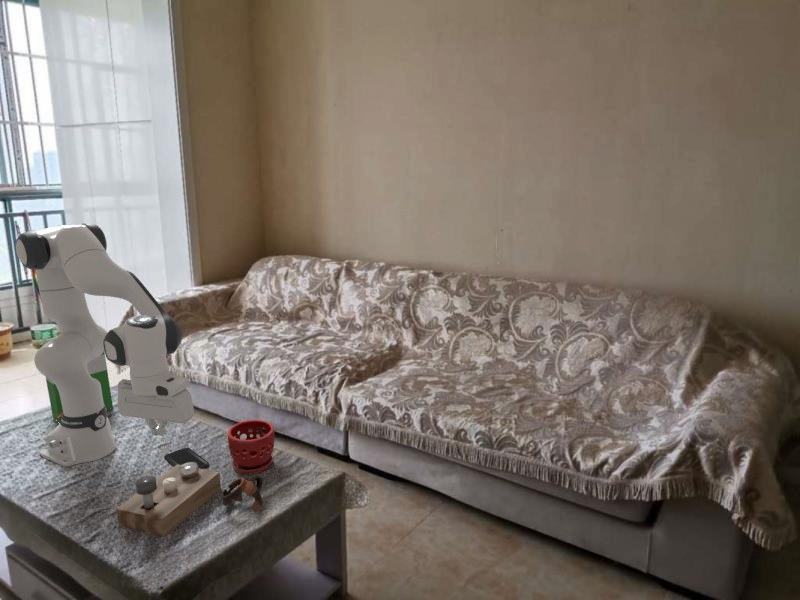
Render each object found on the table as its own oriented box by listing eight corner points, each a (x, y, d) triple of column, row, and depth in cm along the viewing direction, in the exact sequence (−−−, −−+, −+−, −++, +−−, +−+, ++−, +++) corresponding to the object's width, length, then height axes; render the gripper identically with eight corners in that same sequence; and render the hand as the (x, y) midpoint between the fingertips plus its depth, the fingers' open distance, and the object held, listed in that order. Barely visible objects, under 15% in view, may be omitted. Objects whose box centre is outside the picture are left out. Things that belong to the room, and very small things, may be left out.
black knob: (134, 509, 141) (131, 484, 139) (148, 498, 145) (145, 474, 144) (149, 512, 140) (146, 487, 138) (163, 502, 144) (159, 477, 142)
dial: (160, 491, 148) (159, 482, 148) (169, 485, 151) (168, 475, 151) (171, 493, 147) (169, 484, 147) (179, 487, 150) (178, 477, 150)
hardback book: (105, 402, 216) (95, 341, 211) (113, 408, 211) (103, 346, 206) (53, 418, 204) (41, 354, 198) (60, 424, 199) (48, 359, 193)
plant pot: (224, 478, 163) (220, 439, 161) (239, 454, 176) (235, 418, 173) (270, 478, 163) (266, 439, 160) (281, 455, 176) (278, 419, 173)
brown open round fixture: (252, 521, 145) (232, 497, 143) (229, 525, 150) (210, 502, 148) (278, 486, 154) (260, 463, 152) (256, 492, 159) (238, 469, 157)
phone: (187, 446, 180) (210, 463, 170) (187, 449, 181) (210, 466, 170) (162, 455, 175) (184, 473, 165) (162, 459, 175) (184, 477, 165)
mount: (118, 526, 143) (115, 508, 142) (179, 480, 163) (177, 464, 162) (164, 537, 138) (161, 519, 137) (221, 488, 158) (219, 472, 157)
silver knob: (178, 492, 156) (175, 469, 154) (190, 483, 160) (187, 461, 158) (192, 495, 154) (189, 472, 153) (203, 486, 159) (201, 463, 157)
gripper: (107, 383, 140) (115, 435, 144) (176, 390, 134) (184, 444, 137) (126, 373, 146) (134, 424, 150) (194, 380, 140) (200, 433, 143)
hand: (158, 434), depth 143 cm, fingers closed
